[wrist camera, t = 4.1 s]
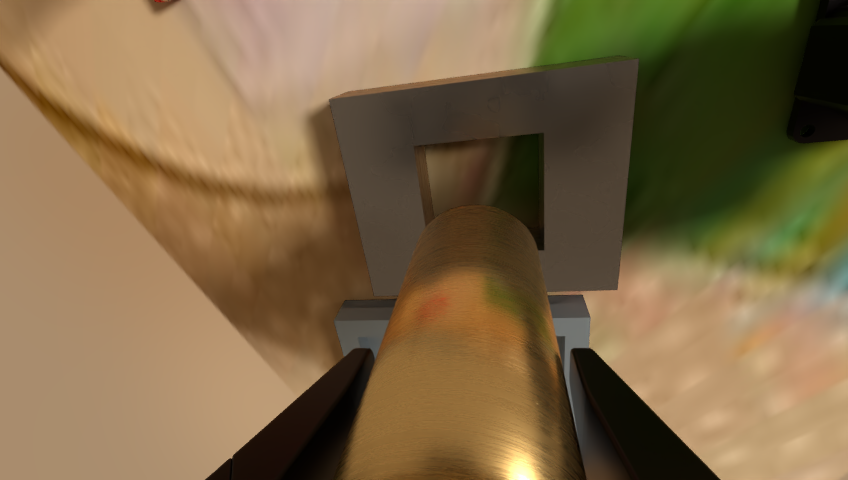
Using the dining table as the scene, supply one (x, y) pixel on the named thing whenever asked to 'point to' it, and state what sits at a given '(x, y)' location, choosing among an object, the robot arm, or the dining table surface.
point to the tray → (371, 317)
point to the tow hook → (162, 0)
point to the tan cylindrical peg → (467, 365)
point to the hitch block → (490, 118)
